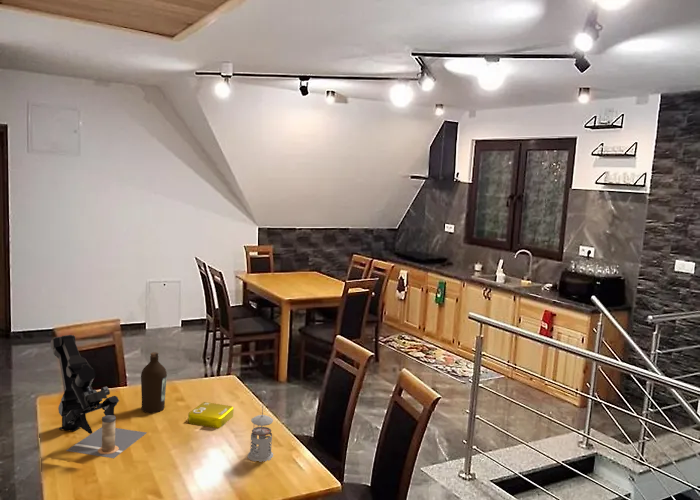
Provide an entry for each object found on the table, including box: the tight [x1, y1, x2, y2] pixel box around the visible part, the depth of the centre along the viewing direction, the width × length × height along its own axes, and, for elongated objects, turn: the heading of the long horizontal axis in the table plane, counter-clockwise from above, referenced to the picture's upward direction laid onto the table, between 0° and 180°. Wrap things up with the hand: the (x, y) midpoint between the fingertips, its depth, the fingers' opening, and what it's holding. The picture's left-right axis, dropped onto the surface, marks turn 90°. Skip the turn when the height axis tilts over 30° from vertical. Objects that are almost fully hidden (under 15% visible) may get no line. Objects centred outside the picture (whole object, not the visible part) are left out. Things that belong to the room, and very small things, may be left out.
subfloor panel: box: [65, 426, 147, 459], centre depth 213 cm, size 19×22×2 cm
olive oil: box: [140, 351, 168, 414], centre depth 248 cm, size 11×11×25 cm
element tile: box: [187, 401, 234, 429], centre depth 242 cm, size 15×15×5 cm
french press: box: [247, 390, 274, 463], centre depth 212 cm, size 10×12×25 cm
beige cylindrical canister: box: [101, 414, 117, 452], centre depth 206 cm, size 5×5×12 cm
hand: (102, 429), depth 208 cm, fingers open, 9 cm apart
